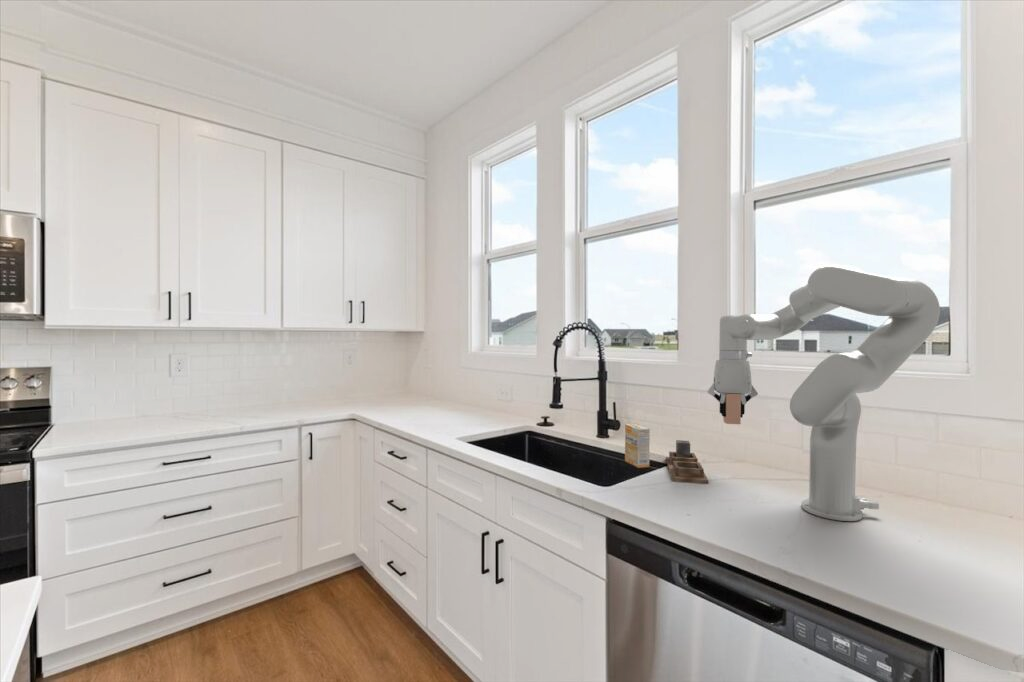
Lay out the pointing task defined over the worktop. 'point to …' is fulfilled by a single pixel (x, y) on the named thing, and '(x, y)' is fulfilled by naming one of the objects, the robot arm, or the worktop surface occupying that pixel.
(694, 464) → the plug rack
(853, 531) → the worktop surface
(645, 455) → the supplement box
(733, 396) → the terracotta plug
